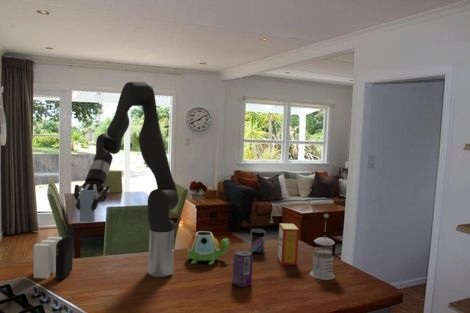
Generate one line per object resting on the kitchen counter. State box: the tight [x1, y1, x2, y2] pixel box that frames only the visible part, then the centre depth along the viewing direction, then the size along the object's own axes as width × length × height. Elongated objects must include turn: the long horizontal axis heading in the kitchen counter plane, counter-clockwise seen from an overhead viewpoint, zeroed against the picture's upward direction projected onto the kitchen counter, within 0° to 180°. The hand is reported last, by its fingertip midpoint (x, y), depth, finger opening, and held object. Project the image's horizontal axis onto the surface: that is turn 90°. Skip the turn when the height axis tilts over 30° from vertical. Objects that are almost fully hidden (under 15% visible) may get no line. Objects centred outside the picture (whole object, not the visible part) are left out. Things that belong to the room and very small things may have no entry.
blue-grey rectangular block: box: [79, 189, 96, 223], centre depth 144 cm, size 2×5×12 cm, turn 89°
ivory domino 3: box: [40, 239, 57, 275], centre depth 141 cm, size 2×5×12 cm, turn 89°
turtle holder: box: [187, 230, 230, 265], centre depth 162 cm, size 12×18×12 cm
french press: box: [309, 213, 336, 281], centre depth 150 cm, size 10×12×25 cm
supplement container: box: [249, 228, 266, 255], centre depth 175 cm, size 7×7×10 cm
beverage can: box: [231, 249, 254, 288], centre depth 139 cm, size 7×7×12 cm
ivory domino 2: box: [46, 236, 63, 242], centre depth 145 cm, size 2×5×12 cm, turn 89°
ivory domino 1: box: [33, 243, 51, 280], centre depth 136 cm, size 2×5×12 cm, turn 89°
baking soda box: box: [277, 222, 300, 266], centre depth 165 cm, size 10×6×16 cm
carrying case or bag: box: [55, 234, 74, 281], centre depth 137 cm, size 11×3×15 cm, turn 1°
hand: (85, 209), depth 142 cm, fingers closed on blue-grey rectangular block, 5 cm apart
